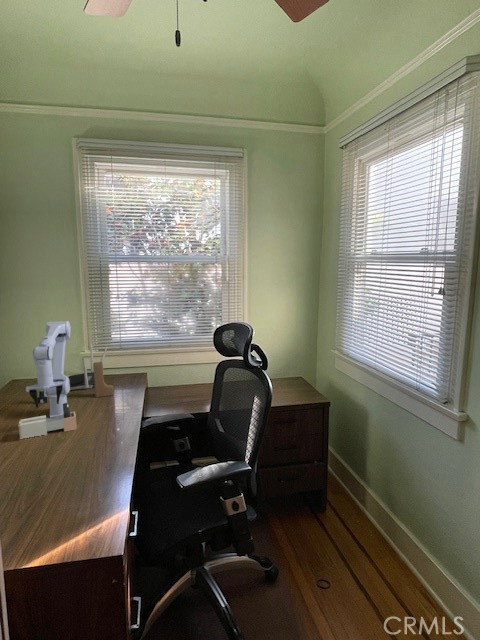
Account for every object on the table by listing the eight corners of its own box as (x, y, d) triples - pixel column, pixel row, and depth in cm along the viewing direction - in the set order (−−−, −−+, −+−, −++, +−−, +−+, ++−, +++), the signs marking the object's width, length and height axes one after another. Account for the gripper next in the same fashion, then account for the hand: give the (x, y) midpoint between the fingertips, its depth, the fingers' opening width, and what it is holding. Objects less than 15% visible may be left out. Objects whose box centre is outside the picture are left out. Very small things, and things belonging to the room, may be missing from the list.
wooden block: (113, 392, 195) (111, 360, 193) (113, 395, 191) (111, 362, 188) (95, 394, 192) (93, 362, 189) (95, 397, 188) (93, 364, 185)
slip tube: (41, 428, 150) (39, 406, 149) (72, 422, 156) (70, 401, 154) (41, 432, 147) (39, 410, 145) (73, 426, 152) (71, 404, 151)
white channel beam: (21, 434, 148) (19, 419, 147) (47, 429, 152) (45, 415, 151) (20, 440, 142) (18, 425, 141) (47, 435, 147) (45, 420, 146)
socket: (63, 425, 155) (62, 413, 154) (75, 423, 157) (74, 411, 156) (64, 431, 150) (63, 418, 149) (76, 429, 152) (75, 416, 151)
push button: (32, 405, 179) (30, 385, 177) (35, 401, 184) (33, 382, 182) (47, 403, 181) (45, 384, 179) (49, 399, 186) (47, 381, 184)
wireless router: (71, 376, 225) (68, 345, 222) (110, 373, 231) (108, 343, 228) (59, 395, 192) (56, 359, 189) (105, 390, 199) (103, 355, 196)
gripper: (24, 379, 144) (27, 411, 146) (64, 374, 151) (66, 404, 153) (25, 374, 150) (28, 405, 152) (63, 370, 157) (66, 399, 159)
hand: (47, 404), depth 153 cm, fingers open, 7 cm apart
